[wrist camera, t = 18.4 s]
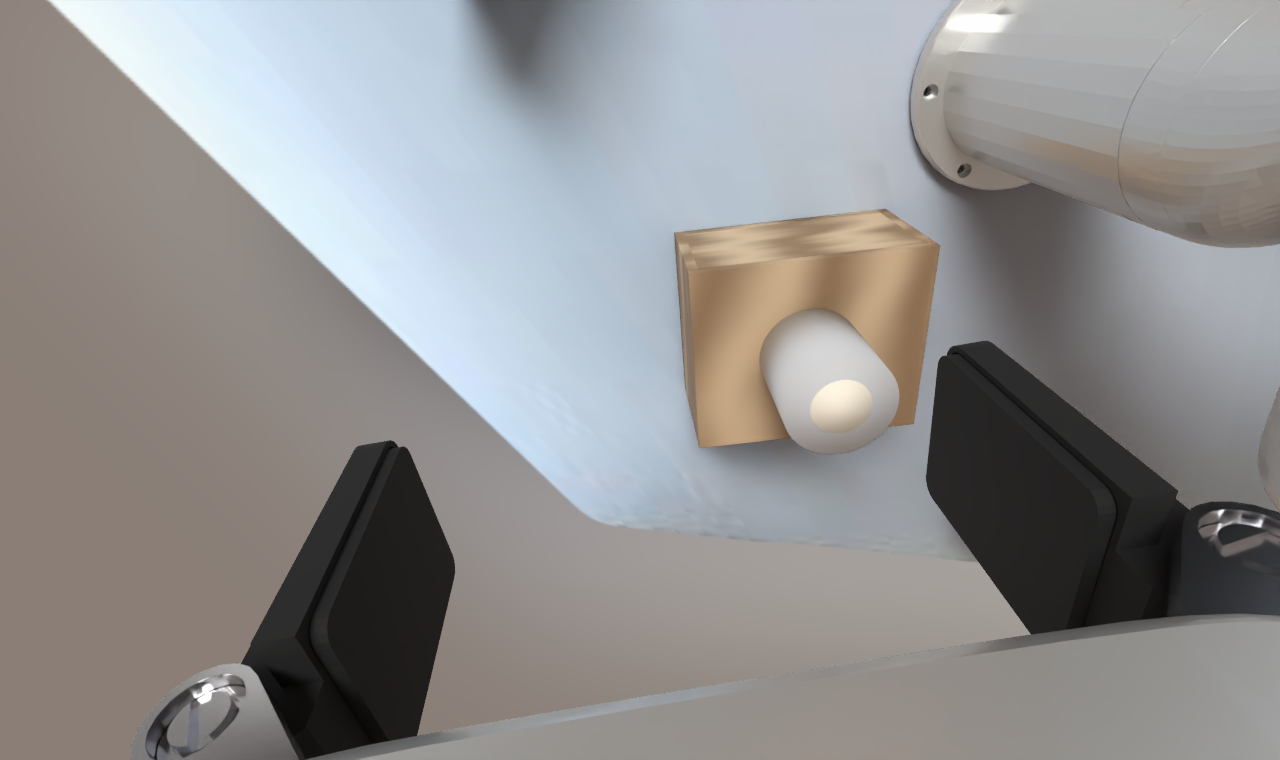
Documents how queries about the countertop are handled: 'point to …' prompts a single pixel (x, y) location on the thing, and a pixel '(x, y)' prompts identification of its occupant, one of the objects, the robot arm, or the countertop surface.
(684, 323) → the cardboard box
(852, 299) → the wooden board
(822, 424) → the cream-capped white cylinder
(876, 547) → the countertop surface
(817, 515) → the countertop surface
